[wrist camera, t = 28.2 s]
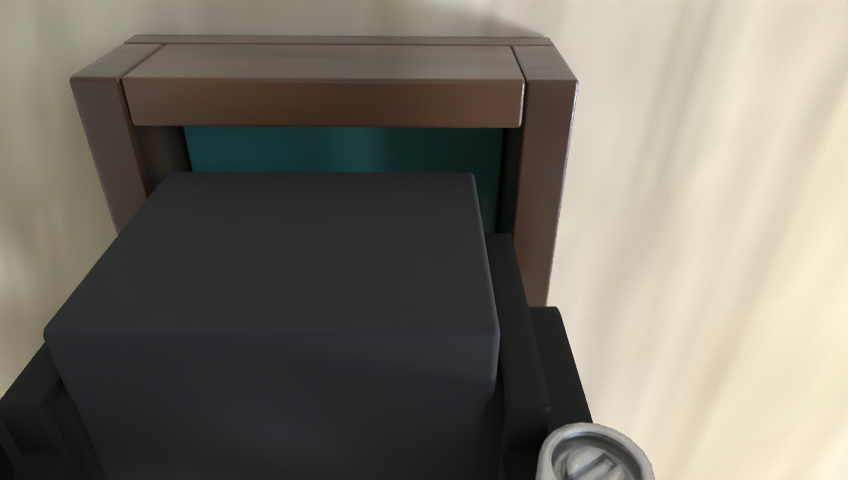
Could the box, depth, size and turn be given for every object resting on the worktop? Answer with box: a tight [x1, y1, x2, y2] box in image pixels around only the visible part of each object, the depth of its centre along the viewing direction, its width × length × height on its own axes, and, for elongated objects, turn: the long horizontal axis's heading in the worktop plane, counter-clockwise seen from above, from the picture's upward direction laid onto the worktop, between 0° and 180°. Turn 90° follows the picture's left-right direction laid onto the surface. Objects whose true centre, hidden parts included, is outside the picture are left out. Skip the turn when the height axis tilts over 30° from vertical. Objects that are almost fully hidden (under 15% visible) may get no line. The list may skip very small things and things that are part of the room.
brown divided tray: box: [70, 35, 578, 307], centre depth 14 cm, size 8×15×3 cm, turn 0°
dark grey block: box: [43, 171, 500, 480], centre depth 10 cm, size 5×5×4 cm
